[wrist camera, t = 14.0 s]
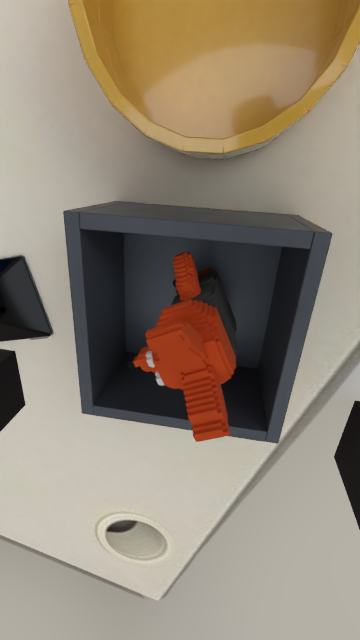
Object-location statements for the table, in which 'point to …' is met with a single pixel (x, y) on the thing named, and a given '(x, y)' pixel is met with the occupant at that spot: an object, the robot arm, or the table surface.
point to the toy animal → (194, 346)
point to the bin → (158, 292)
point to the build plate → (20, 303)
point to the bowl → (216, 65)
